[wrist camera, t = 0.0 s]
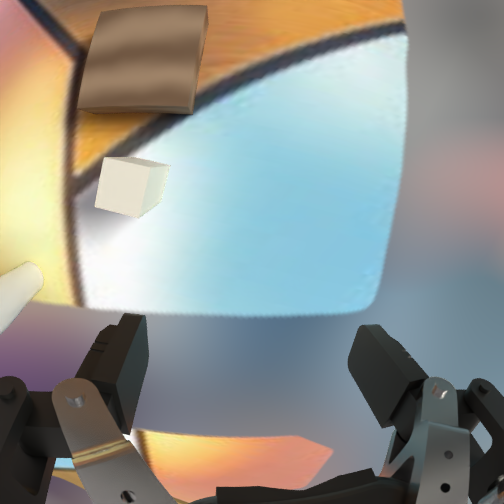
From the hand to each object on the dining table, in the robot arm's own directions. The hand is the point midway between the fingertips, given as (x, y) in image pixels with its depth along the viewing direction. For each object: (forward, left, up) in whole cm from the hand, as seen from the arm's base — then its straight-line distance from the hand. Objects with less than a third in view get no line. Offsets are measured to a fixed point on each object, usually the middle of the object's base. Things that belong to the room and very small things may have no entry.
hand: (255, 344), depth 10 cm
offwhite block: (-3, -11, -29) cm, 31 cm away
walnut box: (-19, -13, -30) cm, 38 cm away
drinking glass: (+13, -32, -30) cm, 46 cm away
